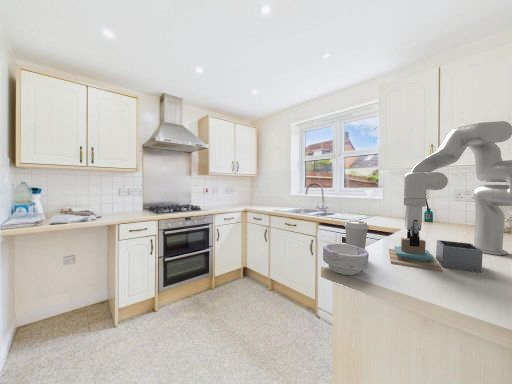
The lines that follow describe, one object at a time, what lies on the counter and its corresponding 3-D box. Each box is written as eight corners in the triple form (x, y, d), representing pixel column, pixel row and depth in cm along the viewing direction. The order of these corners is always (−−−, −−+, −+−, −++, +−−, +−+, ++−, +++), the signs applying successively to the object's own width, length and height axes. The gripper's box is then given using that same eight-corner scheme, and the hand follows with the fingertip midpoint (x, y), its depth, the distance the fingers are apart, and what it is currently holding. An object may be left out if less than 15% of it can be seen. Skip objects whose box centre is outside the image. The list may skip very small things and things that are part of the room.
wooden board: (389, 250, 106) (389, 248, 106) (431, 255, 99) (431, 254, 99) (390, 263, 89) (390, 261, 89) (442, 271, 81) (442, 269, 81)
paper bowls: (378, 276, 76) (379, 253, 76) (340, 281, 72) (340, 256, 72) (347, 261, 91) (348, 241, 90) (314, 264, 86) (315, 244, 86)
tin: (435, 258, 95) (436, 239, 95) (470, 263, 90) (471, 243, 89) (442, 266, 86) (443, 246, 85) (481, 272, 80) (482, 250, 80)
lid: (394, 251, 102) (395, 235, 102) (427, 255, 96) (428, 238, 96) (396, 259, 91) (397, 240, 91) (433, 264, 86) (434, 245, 85)
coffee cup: (361, 262, 89) (362, 225, 89) (339, 256, 96) (340, 221, 96) (371, 257, 96) (372, 222, 95) (349, 252, 103) (350, 219, 102)
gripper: (401, 200, 102) (400, 238, 103) (405, 203, 87) (403, 247, 88) (422, 201, 99) (420, 240, 99) (429, 204, 83) (427, 250, 84)
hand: (412, 243), depth 94 cm, fingers open, 9 cm apart
